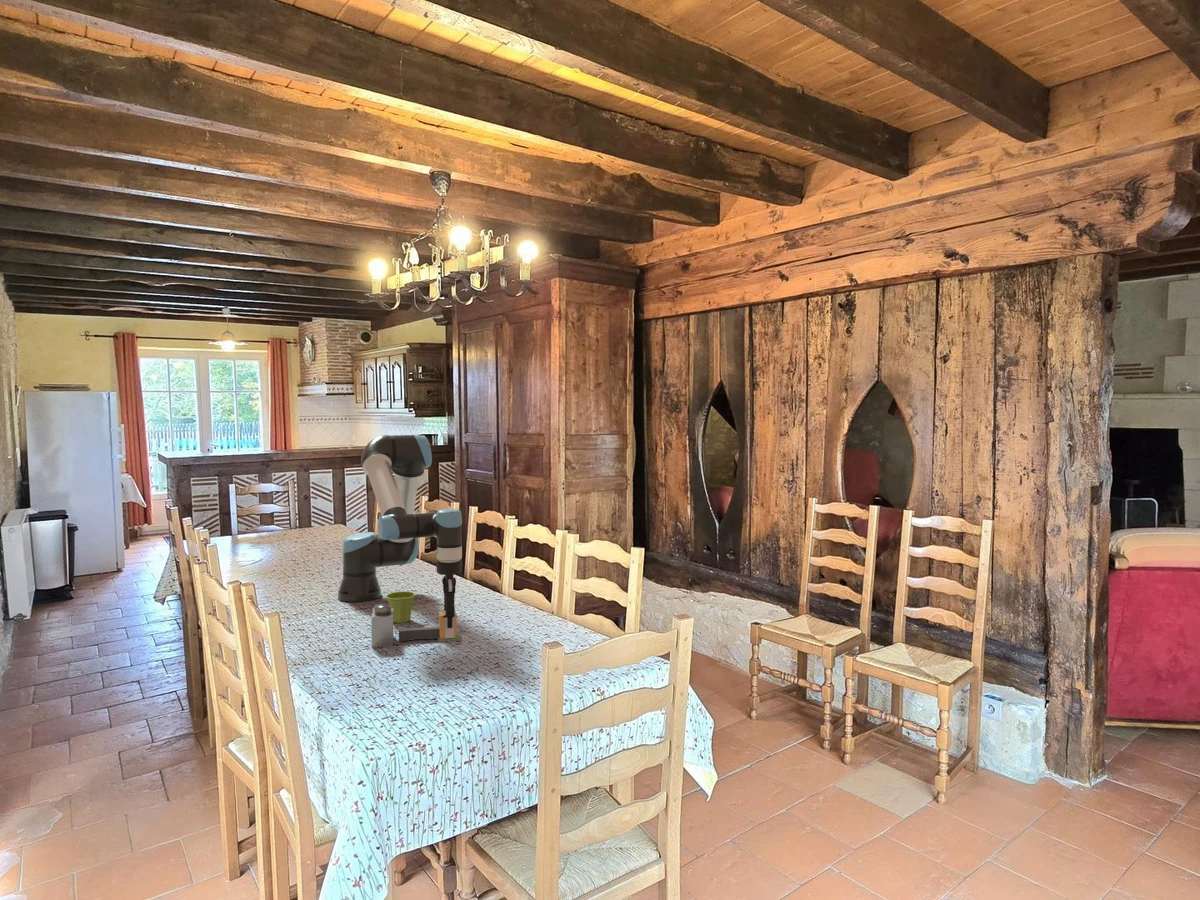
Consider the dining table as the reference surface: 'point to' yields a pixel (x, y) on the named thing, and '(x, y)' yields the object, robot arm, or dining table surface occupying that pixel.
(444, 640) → the mat
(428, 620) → the dining table surface
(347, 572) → the robot arm
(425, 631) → the plug
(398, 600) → the plant pot
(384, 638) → the housing
